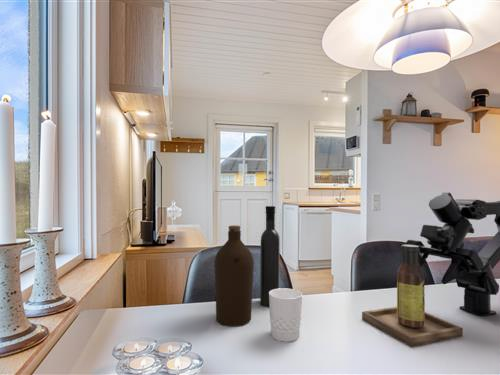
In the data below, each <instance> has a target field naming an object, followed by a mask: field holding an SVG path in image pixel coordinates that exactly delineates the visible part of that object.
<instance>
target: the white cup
mask: <svg viewBox="0 0 500 375" xmlns="http://www.w3.org/2000/svg"><path fill="white" fill-rule="evenodd" d="M302 305H303V293H302V292H301V291H300V290H297V289H293V288H286V287H285V288H284V287H283V288H281V287H279V289H273V290H271V291H270V292H269V306H268V307H269V322H270V336H271V337H272V338H273V339H275V340H276V341H279V342H286V343H288V342H289V343H290V342H294V341H297V340H299V338H300V332H301V330H300V328H301V321H302Z"/></svg>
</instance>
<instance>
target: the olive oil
mask: <svg viewBox="0 0 500 375" xmlns="http://www.w3.org/2000/svg"><path fill="white" fill-rule="evenodd" d="M227 238H228V239H227V241H226V242H225V243H224V244H223V245H222V246H221V247H220V249H219V250H218V251H217V253H216V254H215V258H214V264H213V266H214V285H215V286H214V287H215V288H214V289H215V291H214V292H215V296H214V298H215V299H214V300H215V319H216V320H215V321H216V322H217V323H218V324H220V325H222V326H226V327H240V326H244V325H247V324H248V323H250V321H251V320H252V302H253V281H254V268H255V267H254V264H255V261H254V256H253V254H252V252H251V250H250V248H248V247H247V246H246V245H245V243H244V242H243V241H242V240H241V226H240V225H229V226H228V232H227Z"/></svg>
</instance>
